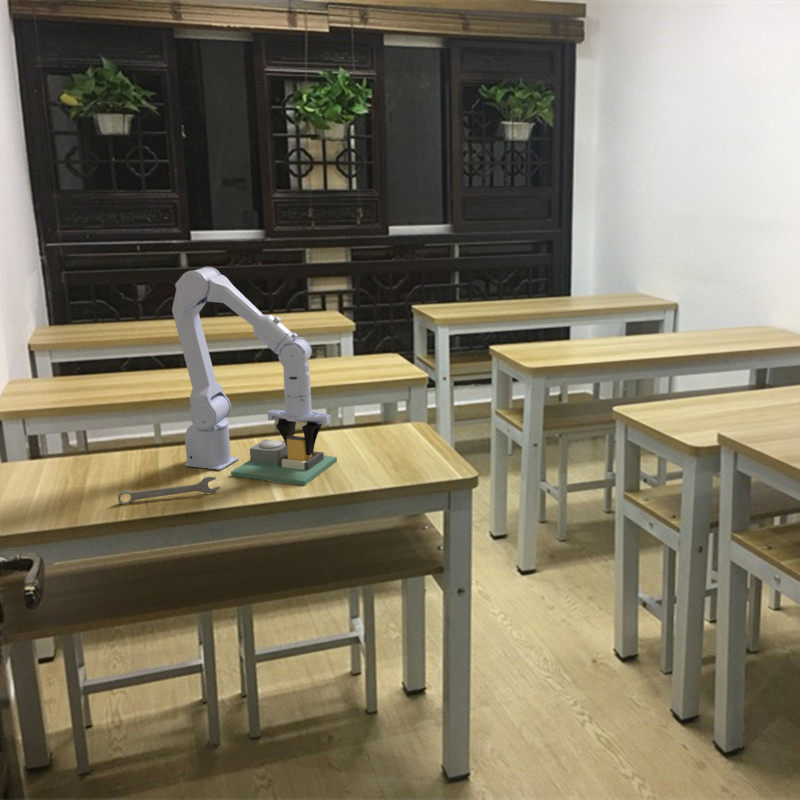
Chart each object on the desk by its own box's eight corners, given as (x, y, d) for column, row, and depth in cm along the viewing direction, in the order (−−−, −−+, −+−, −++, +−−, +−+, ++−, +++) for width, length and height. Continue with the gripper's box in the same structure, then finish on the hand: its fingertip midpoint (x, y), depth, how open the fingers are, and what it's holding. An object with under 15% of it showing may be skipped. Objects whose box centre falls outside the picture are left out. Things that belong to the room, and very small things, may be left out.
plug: (288, 464, 176) (286, 436, 174) (296, 459, 180) (295, 431, 178) (304, 466, 175) (302, 438, 173) (312, 460, 178) (311, 432, 177)
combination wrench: (116, 491, 157) (219, 477, 162) (116, 488, 158) (218, 475, 163) (119, 508, 158) (221, 494, 163) (119, 506, 159) (220, 492, 164)
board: (231, 476, 173) (229, 456, 172) (267, 453, 187) (266, 435, 186) (305, 485, 167) (304, 465, 166) (336, 461, 181) (336, 442, 180)
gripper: (259, 396, 172) (263, 455, 176) (319, 401, 167) (322, 461, 171) (275, 388, 179) (278, 445, 182) (333, 393, 174) (335, 451, 177)
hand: (300, 452), depth 177 cm, fingers closed on plug, 4 cm apart
